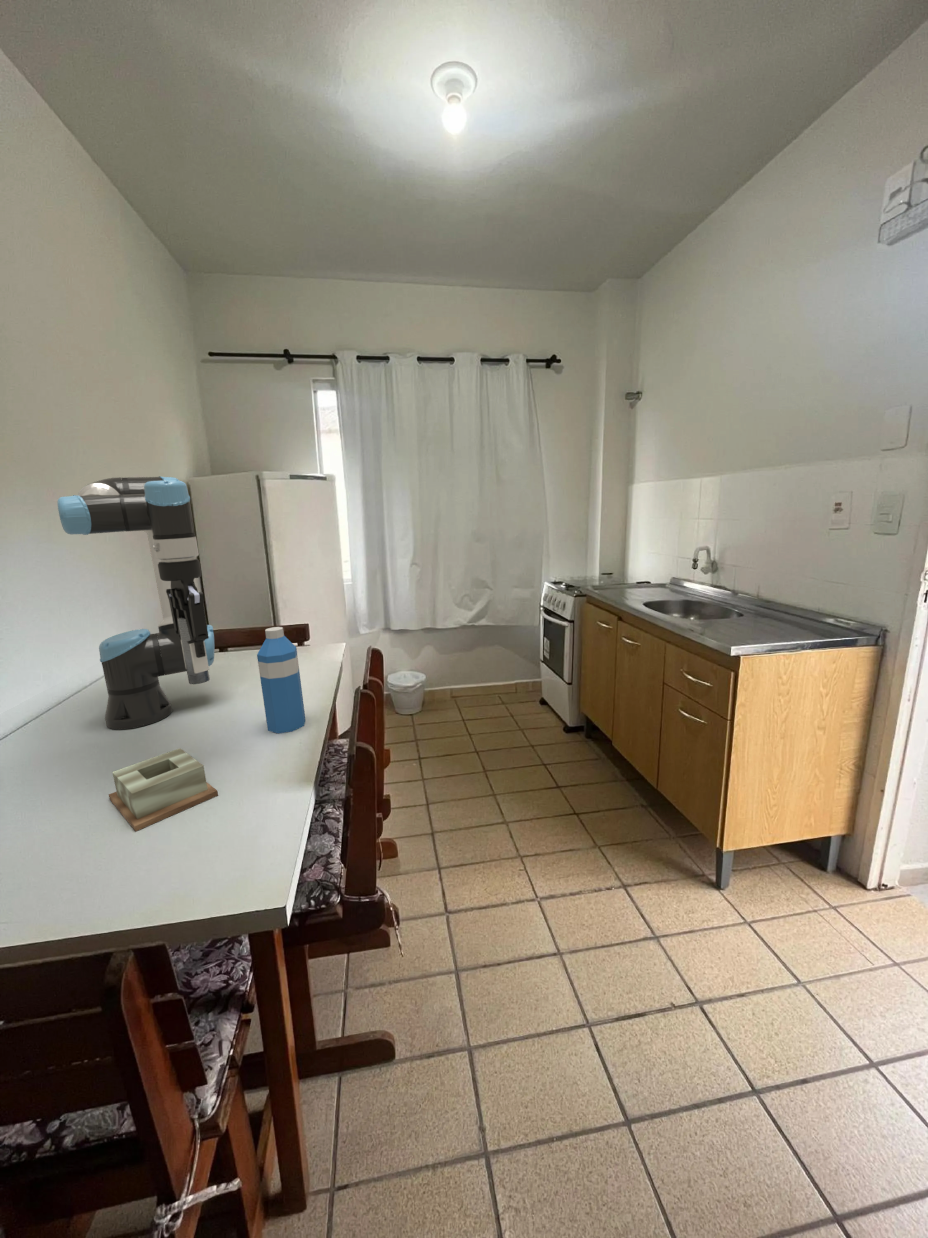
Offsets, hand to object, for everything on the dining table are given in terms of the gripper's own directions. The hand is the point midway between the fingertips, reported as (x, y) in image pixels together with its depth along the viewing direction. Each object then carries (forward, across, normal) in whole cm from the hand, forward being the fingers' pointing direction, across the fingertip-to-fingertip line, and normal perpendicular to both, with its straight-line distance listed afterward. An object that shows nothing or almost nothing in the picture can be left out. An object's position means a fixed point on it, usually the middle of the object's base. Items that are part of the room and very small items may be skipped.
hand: (197, 669), depth 109 cm
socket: (+21, +9, -13) cm, 26 cm away
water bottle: (+21, -2, +19) cm, 28 cm away
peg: (+3, 0, 0) cm, 3 cm away
